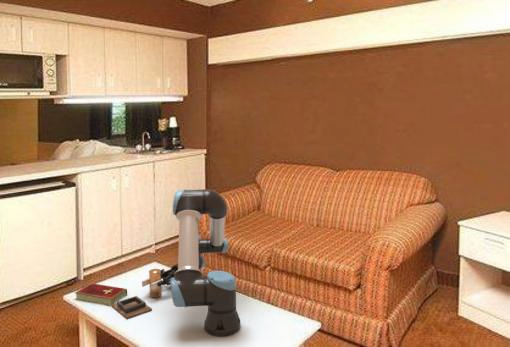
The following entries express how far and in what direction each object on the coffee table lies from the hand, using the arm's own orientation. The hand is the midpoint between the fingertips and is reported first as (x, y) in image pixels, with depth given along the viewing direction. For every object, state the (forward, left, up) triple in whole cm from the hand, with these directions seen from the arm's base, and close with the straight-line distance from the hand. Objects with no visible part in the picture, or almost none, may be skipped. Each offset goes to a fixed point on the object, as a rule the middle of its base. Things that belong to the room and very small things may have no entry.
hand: (147, 285), depth 202 cm
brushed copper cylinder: (+1, -5, -7) cm, 8 cm away
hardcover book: (+18, +15, -8) cm, 25 cm away
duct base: (-3, +9, -8) cm, 12 cm away
